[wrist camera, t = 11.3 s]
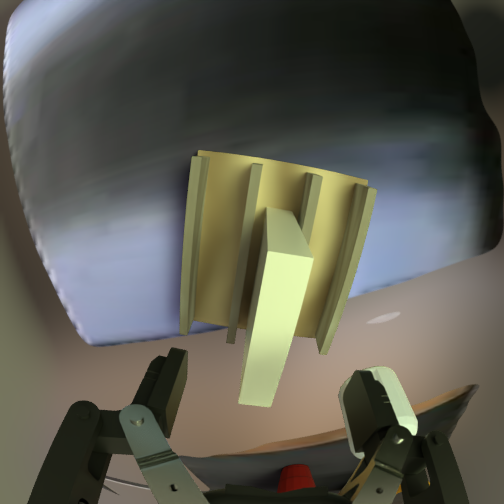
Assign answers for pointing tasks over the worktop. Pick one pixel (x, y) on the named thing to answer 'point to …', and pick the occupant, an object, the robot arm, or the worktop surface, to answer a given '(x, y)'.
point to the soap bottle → (396, 399)
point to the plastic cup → (295, 478)
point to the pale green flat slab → (274, 305)
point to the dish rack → (250, 232)
